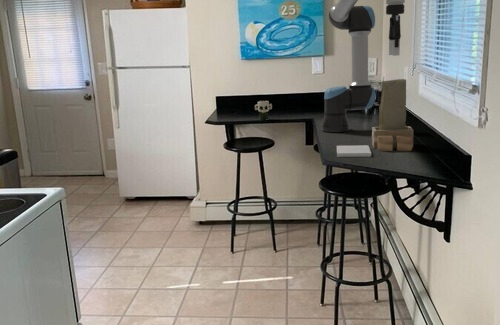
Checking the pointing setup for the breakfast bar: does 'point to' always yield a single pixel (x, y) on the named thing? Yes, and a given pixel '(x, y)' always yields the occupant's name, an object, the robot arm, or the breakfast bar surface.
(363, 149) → the felt pad
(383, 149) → the offcut block
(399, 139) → the offcut block
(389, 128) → the stone slab
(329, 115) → the robot arm
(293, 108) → the breakfast bar surface
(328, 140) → the breakfast bar surface
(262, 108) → the big eared figurine
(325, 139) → the breakfast bar surface
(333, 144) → the breakfast bar surface
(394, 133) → the rack
